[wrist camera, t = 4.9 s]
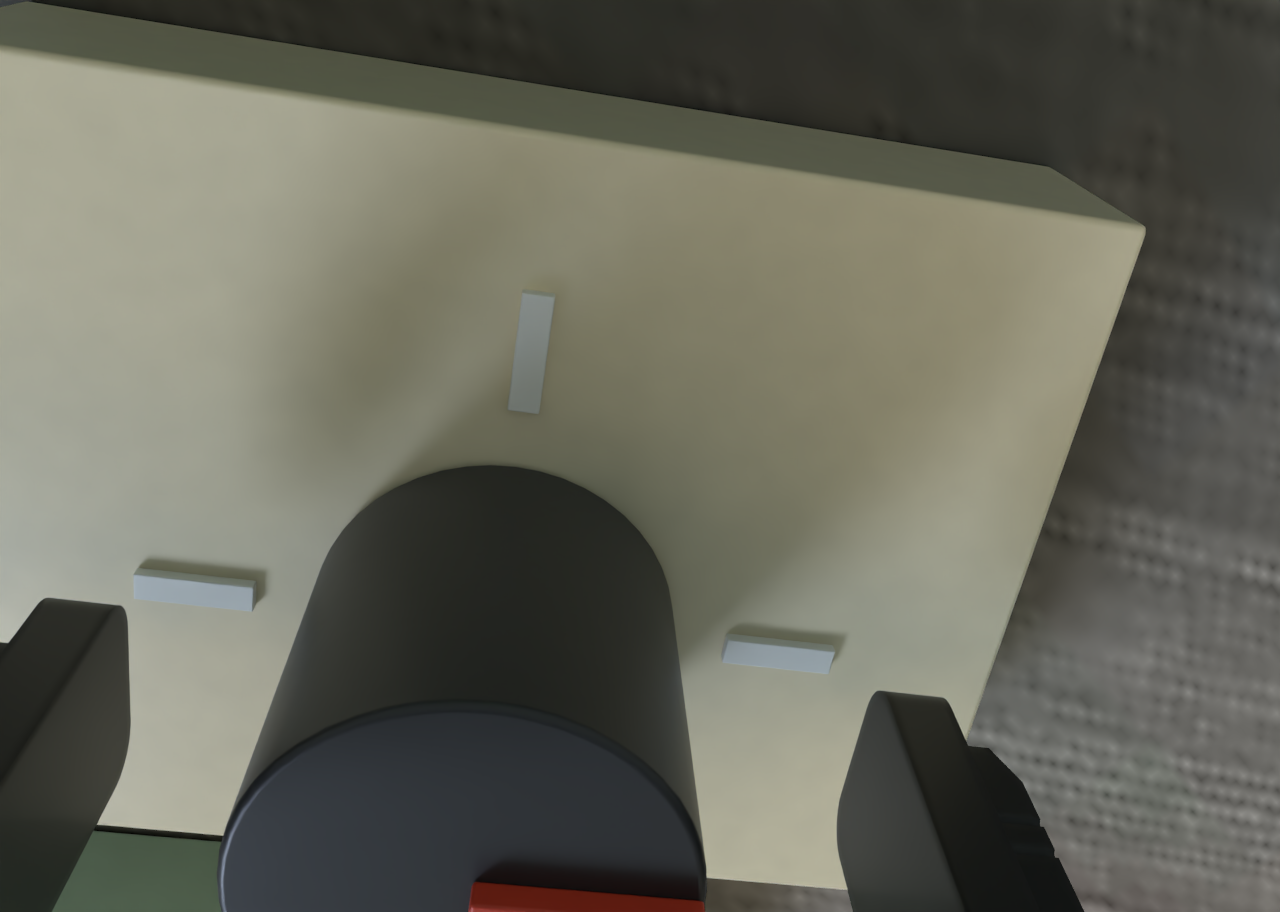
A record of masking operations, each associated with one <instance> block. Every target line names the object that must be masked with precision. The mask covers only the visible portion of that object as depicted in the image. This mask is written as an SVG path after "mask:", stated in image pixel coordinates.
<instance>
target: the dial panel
mask: <svg viewBox="0 0 1280 912" xmlns="http://www.w3.org/2000/svg"><path fill="white" fill-rule="evenodd" d="M1145 234H1146V228H1145V226H1143V225H1142V224H1140V223H1139V222H1137V221H1135V220H1134V219H1132V218H1131V217H1129V216H1127V215H1126V214H1124V213H1123V212H1121V211H1119V210H1118V209H1116V208H1115V207H1113V206H1111V205H1110V204H1108V203H1106V202H1105V201H1103V200H1102V199H1100V198H1098V197H1097V196H1095V195H1094V194H1092V193H1090V192H1089V191H1087V190H1086V189H1084V188H1082V187H1081V186H1079V185H1077V184H1076V183H1074V182H1073V181H1071V180H1069V179H1068V178H1066V177H1065V176H1063V175H1061V174H1060V173H1058V172H1057V171H1055V170H1053V169H1052V168H1050V167H1047V166H1041V165H1034V164H1028V163H1022V162H1016V161H1010V160H1004V159H997V158H991V157H985V156H979V155H973V154H966V153H960V152H954V151H948V150H942V149H936V148H929V147H923V146H917V145H911V144H905V143H899V142H892V141H886V140H880V139H874V138H868V137H862V136H855V135H849V134H843V133H837V132H831V131H825V130H818V129H812V128H806V127H800V126H794V125H787V124H781V123H775V122H769V121H763V120H757V119H750V118H744V117H738V116H732V115H726V114H720V113H713V112H707V111H701V110H695V109H689V108H683V107H676V106H670V105H664V104H658V103H652V102H646V101H639V100H633V99H627V98H621V97H615V96H608V95H602V94H596V93H590V92H584V91H578V90H571V89H565V88H559V87H553V86H547V85H541V84H534V83H528V82H522V81H516V80H510V79H504V78H497V77H491V76H485V75H479V74H473V73H467V72H460V71H454V70H448V69H442V68H436V67H429V66H423V65H417V64H411V63H405V62H399V61H392V60H386V59H380V58H374V57H368V56H362V55H355V54H349V53H343V52H337V51H331V50H325V49H318V48H312V47H306V46H300V45H294V44H287V43H281V42H275V41H269V40H263V39H257V38H250V37H244V36H238V35H232V34H226V33H220V32H213V31H207V30H201V29H195V28H189V27H183V26H176V25H170V24H164V23H158V22H152V21H146V20H139V19H133V18H127V17H121V16H115V15H108V14H102V13H96V12H90V11H84V10H78V9H71V8H65V7H59V6H53V5H47V4H41V3H34V2H28V1H25V2H21V3H17V4H13V5H8V6H4V7H0V642H3V643H9V642H10V640H11V639H12V638H13V636H14V635H15V634H16V632H17V631H18V630H19V628H20V627H21V626H22V624H23V623H24V622H25V620H26V619H27V618H28V616H29V615H30V614H31V612H32V611H33V610H34V608H35V607H36V606H37V604H38V603H39V602H40V601H41V600H43V599H44V598H57V599H66V600H75V601H84V602H94V603H103V604H112V605H121V606H122V607H123V608H124V609H125V612H126V615H127V620H128V645H129V680H130V715H131V728H130V739H129V745H128V751H127V756H126V760H125V764H124V767H123V770H122V773H121V776H120V779H119V781H118V784H117V786H116V788H115V790H114V792H113V794H112V796H111V798H110V800H109V802H108V803H107V805H106V807H105V809H104V811H103V813H102V815H101V817H100V819H99V821H98V823H97V825H108V826H119V827H131V828H142V829H154V830H165V831H177V832H188V833H199V834H211V835H222V836H223V835H224V832H225V828H226V825H227V822H228V820H229V817H230V814H231V811H232V809H233V806H234V803H235V801H236V798H237V795H238V792H239V790H240V787H241V784H242V781H243V779H244V776H245V773H246V771H247V768H248V765H249V762H250V760H251V757H252V754H253V752H254V749H255V746H256V743H257V741H258V738H259V735H260V732H261V730H262V727H263V724H264V722H265V719H266V716H267V713H268V711H269V708H270V705H271V703H272V700H273V697H274V694H275V692H276V689H277V686H278V683H279V681H280V678H281V675H282V673H283V670H284V667H285V664H286V662H287V659H288V656H289V653H290V651H291V648H292V645H293V643H294V640H295V637H296V634H297V632H298V629H299V626H300V624H301V621H302V618H303V615H304V613H305V610H306V607H307V604H308V602H309V599H310V596H311V594H312V591H313V588H314V585H315V583H316V580H317V577H318V575H319V572H320V569H321V566H322V564H323V562H324V560H325V558H326V556H327V554H328V552H329V550H330V548H331V546H332V545H333V543H334V542H335V540H336V539H337V538H338V536H339V535H340V533H341V532H342V530H343V529H344V528H345V527H346V526H347V525H348V524H349V523H350V522H351V521H352V520H353V519H354V517H355V516H356V515H357V514H358V513H360V512H361V511H362V510H363V509H365V508H366V507H367V506H368V505H369V504H371V503H372V502H373V501H374V500H376V499H377V498H379V497H381V496H382V495H384V494H386V493H387V492H389V491H391V490H392V489H394V488H396V487H398V486H400V485H403V484H405V483H407V482H409V481H412V480H414V479H416V478H419V477H422V476H425V475H429V474H432V473H435V472H439V471H442V470H448V469H454V468H460V467H466V466H483V465H497V466H512V467H520V468H525V469H531V470H536V471H541V472H544V473H547V474H550V475H554V476H557V477H560V478H563V479H566V480H568V481H570V482H572V483H574V484H577V485H579V486H581V487H583V488H585V489H587V490H589V491H590V492H592V493H594V494H595V495H597V496H599V497H600V498H602V499H604V500H605V501H607V502H608V503H609V504H610V505H612V506H613V507H614V508H615V509H617V510H618V511H619V512H621V513H622V514H623V515H624V516H625V517H626V518H627V519H628V520H629V521H630V522H631V523H632V524H633V525H634V526H635V527H636V528H637V529H638V530H639V531H640V533H641V534H642V535H643V537H644V538H645V540H646V541H647V542H648V544H649V545H650V547H651V548H652V549H653V551H654V553H655V555H656V557H657V559H658V561H659V563H660V565H661V567H662V569H663V572H664V575H665V578H666V581H667V584H668V586H669V592H670V597H671V603H672V609H673V617H674V625H675V632H676V640H677V647H678V655H679V663H680V670H681V678H682V686H683V693H684V701H685V709H686V716H687V724H688V731H689V739H690V747H691V754H692V762H693V770H694V777H695V785H696V792H697V800H698V808H699V815H700V823H701V831H702V838H703V846H704V853H705V861H706V876H707V878H715V879H726V880H738V881H749V882H761V883H772V884H783V885H795V886H806V887H818V888H829V889H841V890H848V889H847V886H846V882H845V878H844V874H843V870H842V866H841V862H840V858H839V853H838V847H837V813H838V805H839V800H840V796H841V792H842V789H843V786H844V782H845V779H846V776H847V772H848V769H849V766H850V762H851V759H852V756H853V752H854V749H855V746H856V742H857V739H858V736H859V733H860V729H861V726H862V723H863V719H864V716H865V713H866V709H867V706H868V703H869V701H870V699H871V697H872V696H873V694H874V693H875V692H876V691H879V690H880V691H889V692H898V693H907V694H916V695H926V696H935V697H943V698H945V699H946V700H947V701H948V702H949V704H950V706H951V708H952V710H953V712H954V715H955V717H956V719H957V722H958V724H959V726H960V728H961V731H962V733H963V735H964V738H965V740H966V741H967V738H968V735H969V732H970V729H971V726H972V724H973V721H974V718H975V715H976V712H977V709H978V707H979V704H980V701H981V698H982V695H983V692H984V690H985V687H986V684H987V681H988V678H989V675H990V673H991V670H992V667H993V664H994V661H995V659H996V656H997V653H998V650H999V647H1000V644H1001V642H1002V639H1003V636H1004V633H1005V630H1006V627H1007V625H1008V622H1009V619H1010V616H1011V613H1012V610H1013V608H1014V605H1015V602H1016V599H1017V596H1018V593H1019V591H1020V588H1021V585H1022V582H1023V579H1024V576H1025V574H1026V571H1027V568H1028V565H1029V562H1030V560H1031V557H1032V554H1033V551H1034V548H1035V545H1036V543H1037V540H1038V537H1039V534H1040V531H1041V528H1042V526H1043V523H1044V520H1045V517H1046V514H1047V511H1048V509H1049V506H1050V503H1051V500H1052V497H1053V494H1054V492H1055V489H1056V486H1057V483H1058V480H1059V478H1060V475H1061V472H1062V469H1063V466H1064V463H1065V461H1066V458H1067V455H1068V452H1069V449H1070V446H1071V444H1072V441H1073V438H1074V435H1075V432H1076V429H1077V427H1078V424H1079V421H1080V418H1081V415H1082V412H1083V410H1084V407H1085V404H1086V401H1087V398H1088V395H1089V393H1090V390H1091V387H1092V384H1093V381H1094V379H1095V376H1096V373H1097V370H1098V367H1099V364H1100V362H1101V359H1102V356H1103V353H1104V350H1105V347H1106V345H1107V342H1108V339H1109V336H1110V333H1111V330H1112V328H1113V325H1114V322H1115V319H1116V316H1117V313H1118V311H1119V308H1120V305H1121V302H1122V299H1123V297H1124V294H1125V291H1126V288H1127V285H1128V282H1129V280H1130V277H1131V274H1132V271H1133V268H1134V265H1135V263H1136V260H1137V257H1138V254H1139V251H1140V248H1141V246H1142V243H1143V240H1144V237H1145Z"/></svg>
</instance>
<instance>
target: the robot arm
mask: <svg viewBox="0 0 1280 912" xmlns="http://www.w3.org/2000/svg"><path fill="white" fill-rule="evenodd" d="M130 728H131V715H130V680H129V645H128V620H127V615H126V612H125V609H124V608H123V607H122V606H121V605H112V604H103V603H94V602H84V601H75V600H66V599H57V598H44V599H43V600H41V601H40V602H39V603H38V604H37V606H36V607H35V608H34V610H33V611H32V612H31V614H30V615H29V616H28V618H27V619H26V620H25V622H24V623H23V624H22V626H21V627H20V628H19V630H18V631H17V632H16V634H15V635H14V636H13V638H12V639H11V640H10V642H9V643H3V642H0V912H52V910H53V909H54V907H55V905H56V903H57V901H58V899H59V897H60V895H61V893H62V891H63V889H64V887H65V885H66V883H67V881H68V879H69V877H70V875H71V874H72V872H73V870H74V868H75V866H76V864H77V862H78V860H79V858H80V856H81V854H82V852H83V850H84V848H85V846H86V844H87V842H88V840H89V839H90V837H91V835H92V833H93V831H94V829H95V827H96V825H97V823H98V821H99V819H100V817H101V815H102V813H103V811H104V809H105V807H106V805H107V803H108V802H109V800H110V798H111V796H112V794H113V792H114V790H115V788H116V786H117V784H118V781H119V779H120V776H121V773H122V770H123V767H124V764H125V760H126V756H127V751H128V745H129V739H130ZM837 847H838V853H839V858H840V862H841V866H842V870H843V874H844V878H845V882H846V886H847V889H848V893H849V897H850V901H851V905H852V909H853V912H1084V910H1083V908H1082V906H1081V904H1080V902H1079V900H1078V898H1077V896H1076V893H1075V891H1074V889H1073V887H1072V885H1071V883H1070V881H1069V879H1068V877H1067V875H1066V873H1065V870H1064V868H1063V866H1062V864H1061V862H1060V860H1059V858H1055V856H1054V851H1055V850H1054V847H1053V845H1052V843H1051V841H1050V839H1049V837H1048V835H1047V833H1046V831H1045V829H1044V827H1040V818H1039V816H1038V814H1037V812H1036V810H1035V808H1034V806H1033V804H1032V801H1031V799H1030V797H1029V795H1028V793H1027V791H1026V789H1025V787H1024V785H1023V783H1022V782H1021V781H1020V780H1019V778H1018V777H1017V776H1016V775H1015V774H1014V773H1013V772H1012V771H1011V770H1010V769H1009V768H1008V767H1007V766H1006V765H1005V764H1004V763H1003V762H1002V761H1001V760H1000V759H999V758H998V757H997V756H996V755H995V754H994V753H993V752H992V751H991V750H990V749H989V748H981V747H972V746H968V745H967V742H966V740H965V738H964V735H963V733H962V731H961V728H960V726H959V724H958V722H957V719H956V717H955V715H954V712H953V710H952V708H951V706H950V704H949V702H948V701H947V700H946V699H945V698H943V697H935V696H926V695H916V694H907V693H898V692H889V691H880V690H879V691H876V692H875V693H874V694H873V696H872V697H871V699H870V701H869V703H868V706H867V709H866V713H865V716H864V719H863V723H862V726H861V729H860V733H859V736H858V739H857V742H856V746H855V749H854V752H853V756H852V759H851V762H850V766H849V769H848V772H847V776H846V779H845V782H844V786H843V789H842V792H841V796H840V800H839V805H838V813H837Z"/></svg>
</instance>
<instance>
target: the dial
mask: <svg viewBox="0 0 1280 912" xmlns="http://www.w3.org/2000/svg"><path fill="white" fill-rule="evenodd" d="M217 886H218V898H219V903H220V907H221V911H222V912H705V906H704V905H705V899H706V893H707V876H706V861H705V853H704V846H703V838H702V831H701V823H700V815H699V808H698V800H697V792H696V785H695V777H694V770H693V762H692V754H691V747H690V739H689V731H688V724H687V716H686V709H685V701H684V693H683V686H682V678H681V670H680V663H679V655H678V647H677V640H676V632H675V625H674V617H673V609H672V603H671V597H670V592H669V586H668V584H667V581H666V578H665V575H664V572H663V569H662V567H661V565H660V563H659V561H658V559H657V557H656V555H655V553H654V551H653V549H652V548H651V547H650V545H649V544H648V542H647V541H646V540H645V538H644V537H643V535H642V534H641V533H640V531H639V530H638V529H637V528H636V527H635V526H634V525H633V524H632V523H631V522H630V521H629V520H628V519H627V518H626V517H625V516H624V515H623V514H622V513H621V512H619V511H618V510H617V509H615V508H614V507H613V506H612V505H610V504H609V503H608V502H607V501H605V500H604V499H602V498H600V497H599V496H597V495H595V494H594V493H592V492H590V491H589V490H587V489H585V488H583V487H581V486H579V485H577V484H574V483H572V482H570V481H568V480H566V479H563V478H560V477H557V476H554V475H550V474H547V473H544V472H541V471H536V470H531V469H525V468H520V467H512V466H497V465H483V466H466V467H460V468H454V469H448V470H442V471H439V472H435V473H432V474H429V475H425V476H422V477H419V478H416V479H414V480H412V481H409V482H407V483H405V484H403V485H400V486H398V487H396V488H394V489H392V490H391V491H389V492H387V493H386V494H384V495H382V496H381V497H379V498H377V499H376V500H374V501H373V502H372V503H371V504H369V505H368V506H367V507H366V508H365V509H363V510H362V511H361V512H360V513H358V514H357V515H356V516H355V517H354V519H353V520H352V521H351V522H350V523H349V524H348V525H347V526H346V527H345V528H344V529H343V530H342V532H341V533H340V535H339V536H338V538H337V539H336V540H335V542H334V543H333V545H332V546H331V548H330V550H329V552H328V554H327V556H326V558H325V560H324V562H323V564H322V566H321V569H320V572H319V575H318V577H317V580H316V583H315V585H314V588H313V591H312V594H311V596H310V599H309V602H308V604H307V607H306V610H305V613H304V615H303V618H302V621H301V624H300V626H299V629H298V632H297V634H296V637H295V640H294V643H293V645H292V648H291V651H290V653H289V656H288V659H287V662H286V664H285V667H284V670H283V673H282V675H281V678H280V681H279V683H278V686H277V689H276V692H275V694H274V697H273V700H272V703H271V705H270V708H269V711H268V713H267V716H266V719H265V722H264V724H263V727H262V730H261V732H260V735H259V738H258V741H257V743H256V746H255V749H254V752H253V754H252V757H251V760H250V762H249V765H248V768H247V771H246V773H245V776H244V779H243V781H242V784H241V787H240V790H239V792H238V795H237V798H236V801H235V803H234V806H233V809H232V811H231V814H230V817H229V820H228V822H227V825H226V828H225V832H224V835H223V838H222V842H221V845H220V849H219V856H218V865H217Z"/></svg>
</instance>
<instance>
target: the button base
mask: <svg viewBox="0 0 1280 912" xmlns="http://www.w3.org/2000/svg"><path fill="white" fill-rule="evenodd" d="M220 845H221V842H218V841H206V840H195V839H183V838H171V837H160V836H148V835H137V834H125V833H114V832H102V831H93V833H92V835H91V837H90V839H89V840H88V842H87V844H86V846H85V848H84V850H83V852H82V854H81V856H80V858H79V860H78V862H77V864H76V866H75V868H74V870H73V872H72V874H71V875H70V877H69V879H68V881H67V883H66V885H65V887H64V889H63V891H62V893H61V895H60V897H59V899H58V901H57V903H56V905H55V907H54V909H53V910H52V912H222V911H221V907H220V903H219V898H218V886H217V865H218V856H219V849H220Z"/></svg>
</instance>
